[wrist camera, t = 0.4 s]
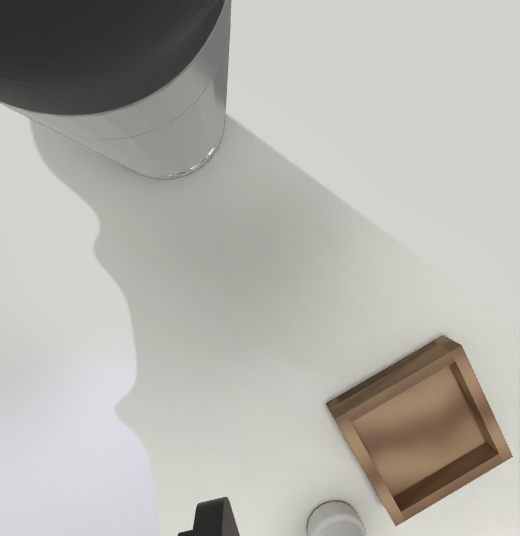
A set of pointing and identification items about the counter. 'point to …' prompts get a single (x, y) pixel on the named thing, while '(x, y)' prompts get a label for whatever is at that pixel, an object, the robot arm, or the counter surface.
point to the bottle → (335, 521)
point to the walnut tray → (421, 428)
